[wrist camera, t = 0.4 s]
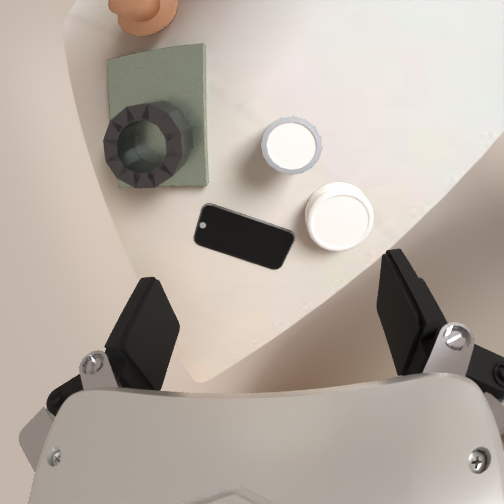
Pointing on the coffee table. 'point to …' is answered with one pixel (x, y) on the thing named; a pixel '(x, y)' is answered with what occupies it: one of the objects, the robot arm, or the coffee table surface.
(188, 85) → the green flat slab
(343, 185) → the white short cylinder
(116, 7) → the cap
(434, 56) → the coffee table surface
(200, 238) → the smartphone
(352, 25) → the coffee table surface
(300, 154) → the white grey cylinder
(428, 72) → the coffee table surface
